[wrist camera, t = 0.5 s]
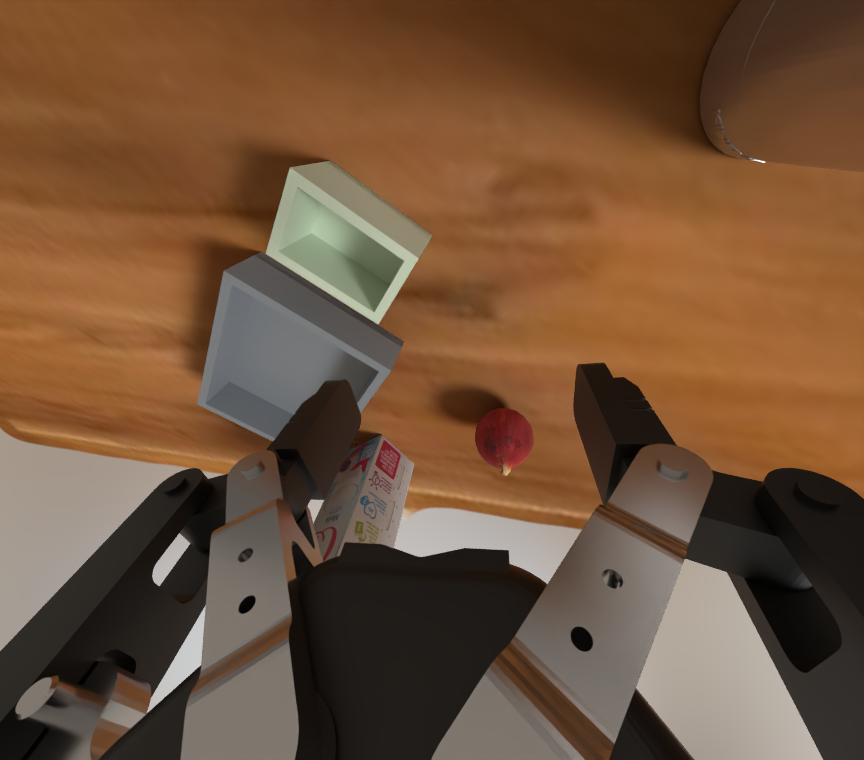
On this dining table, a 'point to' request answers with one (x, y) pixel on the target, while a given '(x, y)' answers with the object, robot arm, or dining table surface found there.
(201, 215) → the dining table surface
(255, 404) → the big crate
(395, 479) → the milk carton
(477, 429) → the onion
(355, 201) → the small crate
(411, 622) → the robot arm
